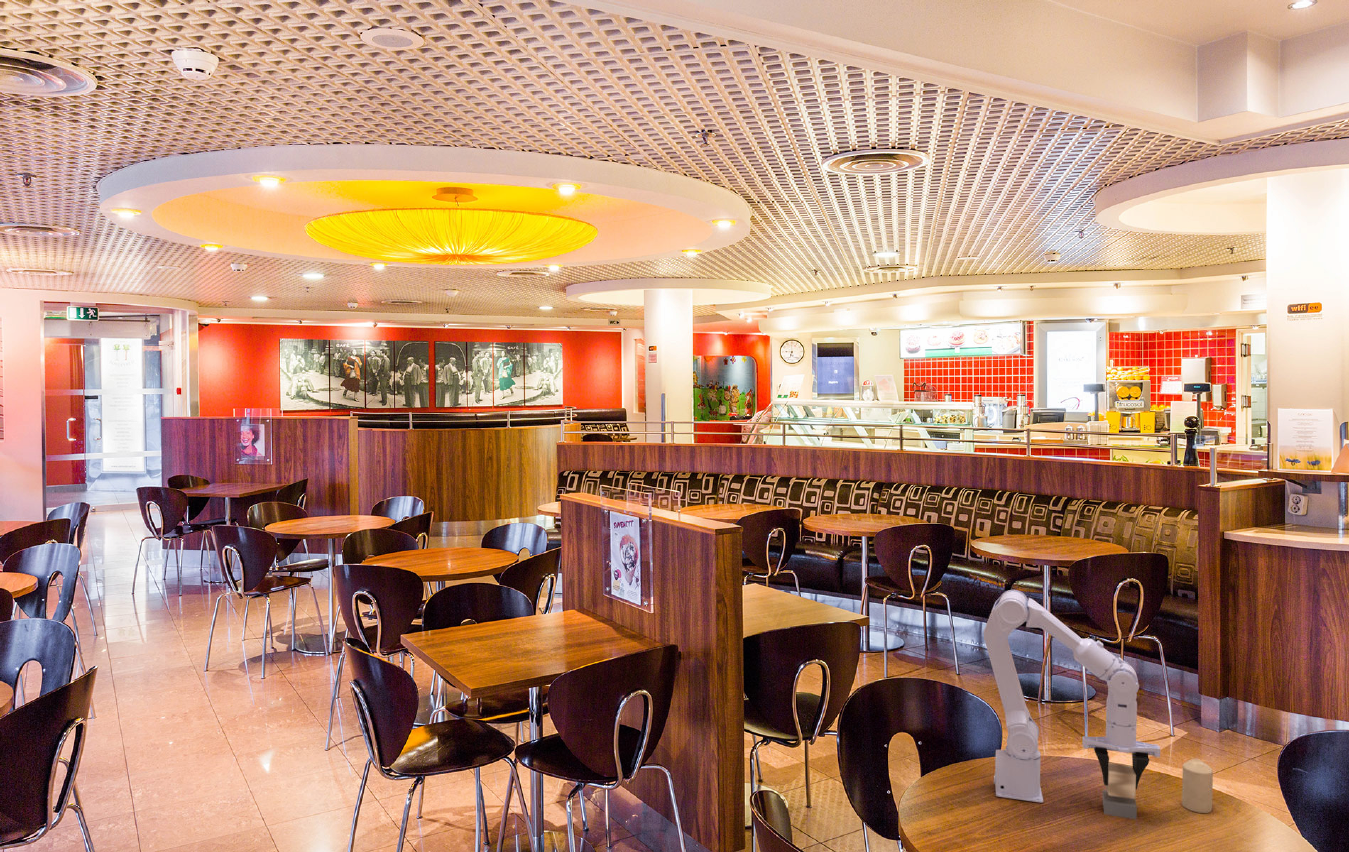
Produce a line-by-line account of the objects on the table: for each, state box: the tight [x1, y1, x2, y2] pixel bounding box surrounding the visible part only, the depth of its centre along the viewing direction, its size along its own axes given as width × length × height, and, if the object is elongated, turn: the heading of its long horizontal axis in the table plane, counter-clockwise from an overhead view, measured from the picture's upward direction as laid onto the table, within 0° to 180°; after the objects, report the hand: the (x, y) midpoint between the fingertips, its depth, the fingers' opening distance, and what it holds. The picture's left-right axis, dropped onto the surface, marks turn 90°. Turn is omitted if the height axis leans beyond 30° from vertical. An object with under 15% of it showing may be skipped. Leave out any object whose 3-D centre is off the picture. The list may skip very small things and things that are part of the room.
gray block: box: [1102, 789, 1138, 821], centre depth 184 cm, size 6×6×3 cm
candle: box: [1181, 758, 1214, 814], centre depth 185 cm, size 6×6×10 cm
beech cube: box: [1104, 762, 1137, 800], centre depth 183 cm, size 5×5×5 cm
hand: (1119, 785), depth 183 cm, fingers closed on beech cube, 5 cm apart
